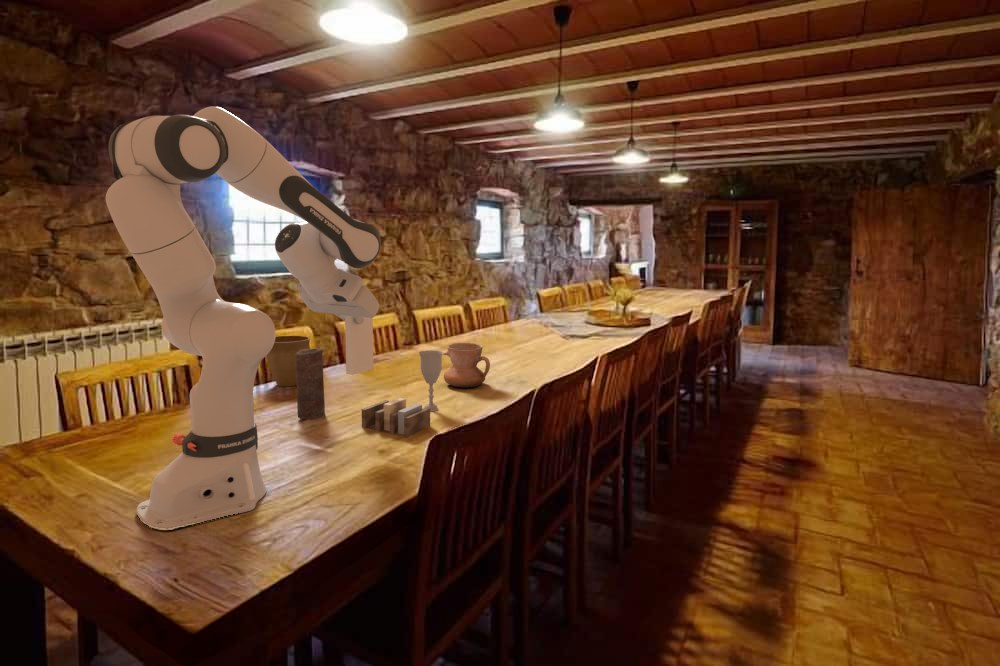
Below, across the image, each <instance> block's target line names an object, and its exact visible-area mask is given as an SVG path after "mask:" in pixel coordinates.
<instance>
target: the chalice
mask: <svg viewBox="0 0 1000 666" xmlns="http://www.w3.org/2000/svg"><path fill="white" fill-rule="evenodd" d="M443 352H444V351H441V350H432V349H431V350H421V351H419V352H418V354H419V357H420V371H421V375H422V376H423V377H422V378H423V379H424V381H425V383H426V384H428V386H429V388H428V392H429V394H428V396H427V397H428V398H429V399H428V400H429V401H428V403H427V404H425V406H424V408H423V409H425V408H430V412H437V411H438V410H439V408H438V405H437V404H436V403H434V402H433V399H434V398H435V395H434V394H433V393H434V391H435V390H434V387H433V386H434V384H437V382H438V379H439V377H440V374H441V372H442V370H443V369H442V368H443V366H442V362H443V361H442V359H443V356H444V355H443Z"/></svg>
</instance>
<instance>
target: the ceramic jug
mask: <svg viewBox="0 0 1000 666" xmlns="http://www.w3.org/2000/svg"><path fill="white" fill-rule="evenodd" d="M442 352H443V355H442V356H447V357H448V358H449V359H450V361H451V364H452V366H451V367H450V368H448V369H447V370H445V371H444V372H443V373H444V374H443V380H444V381H445V383H446V384H448V385H449V386H451V387H455V388H461V389H462V388H463V389H465V388H474V387H477V386H478V387H479V386H480V385H482V384H483V383H484V382H485V380H486V377H487V376H488V373H489V371H490V367H491V362H490V359H489V358H488V357H487V356H483V355H482V353H483V345H482V344H479V343H474V342H453V343H449V344H448V345H447V350H445V351H442ZM481 355H482V356H481ZM482 361H484V363H485V369H484V371H482V369H480V368H479V367H478V366H477V365H478V364H479V363H480V362H482Z"/></svg>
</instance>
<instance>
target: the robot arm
mask: <svg viewBox="0 0 1000 666" xmlns="http://www.w3.org/2000/svg"><path fill="white" fill-rule="evenodd" d="M108 155H109V159H110V162H111V164H112V174H113V177H114V179H116V181H115V182H113V183H112V184H111V185H110V186H109V188H108V189H107V191H106V194H105V203H106V206H107V209H108V212H109V215H110V216H111V219H112V221H113V224H114V226H115V228H116V230H117V231H118V234H119V236H120V238H121V239H122V241H123V243H124V245H125V246H126V248H127V250H128V251H129V253H130V255H131V256H132V257H133V259H134V261H135V262H136V263H137V265H138V267H139V268H140V270H141V272H142V273H143V275H144V276H145V278H146V279H147V281H148V283H149V284H150V286H151V288H152V290H153V292H154V294H155V295H156V298H157V301H158V303H159V306H160V310H161V312H162V316H163V317H162V320H161V330H162V333H163V337H165V339H166V341H168V342H169V343H170V344H171V345H173V346H174V347H175V348H177V349H179V350H181V351H183V352H185V353H188V354H191V355H195V356H200V357H202V367H201V373H200V376H199V380H198V381H197V382H196V383H195V384H194V385H193V386H192V387H191V389H190V392H189V406H190V420H191V429H190V431H189V432H188V434H187V435H183V434H182V433H180V432H177V433H174V434H173V436H172V437H171V441H172V443H174V444H176V445H177V446H181V450H182V452H181V453H180V454H179V455H178V456H176V458H174V459H173V460H172V461H171V462H170V463H169V464H168V465H166V466H165V467H164V468H163V469H162V470H160V472H158V473H157V474H156V475H155V476H154V478H153V480H152V482H151V486H150V493H149V499H146V500H144V501H142V502H140V503H139V504H138V505H137V507H136V516H137V515H138V516H139V518H140V519H141V520H142V521H144V522H145V523H146V524H148V525H151V526H153V527H158V528H166V529H168V528H173V527H177V526H182V525H186V524H192V523H197V522H202V521H206V520H211V519H215V520H217V519H216V518H219V519H221V518H220V517H223V518H225V517H224V516H227V517H229V516H228V515H231V516H234V515H233V514H235V515H237V514H238V513H239V514H243V513H246V512H250V511H253V510H254V509H255V508H256V506H257V503H258V502H259V500H261V499H262V498H263V497H265V495H266V493H267V487H266V485H265V481H264V479H263V475H262V473H261V468H260V463H259V459H258V452H257V450H258V447H259V446H258V445H259V443H258V442H259V441H258V440H259V438H258V437H259V436H258V435H259V434H258V428H257V427H258V426H257V425H258V424H256V423H255V412H254V411H255V410H254V405H255V404H254V389H255V388H254V387H255V386H254V385H255V380H256V376H257V373H258V370H259V366H260V365H261V361H262V360H263V359H264V358H265V357H267V354H268V353H269V352H270V351H271V349H272V347H273V345H274V342H275V337H276V335H277V334H276V326H275V324H274V322H273V320H272V318H271V317H270V316H269V315H268V314H267V313H266V312H264V311H262V310H260V309H258V308H255V307H253V306H251V305H248V304H245V303H238V302H237V303H236V302H230V301H225V300H224V299H223V298H222V297H221V296H220V295H219V293H218V291H217V289H216V284H215V279H214V275H215V273H216V269H217V264H216V261H215V259H214V257H213V256H212V254H211V252H210V251H209V248H208V247H207V245H206V243H205V241H204V239H203V238H202V236H201V234H200V232H199V231H198V228H197V227H196V225H195V223H194V221H193V220H192V218H191V217H190V215H189V213H188V212H187V211H186V209H185V207H184V203H183V201H182V196H181V184H187V183H198V182H201V181H204V180H206V179H209V178H210V177H212V176H213V175H214V174H216V175H217V176H218V177H220V178H221V179H222V180H223V181H225V182H226V183H227V184H228V185H230V186H232V187H233V188H234V189H236V190H237V191H238V192H241V193H243V194H244V195H245V196H248V197H250V198H252V199H254V200H256V201H259V202H260V203H263V204H266V205H268V206H271V207H274V208H277V209H280V210H282V211H285V212H287V213H289V214H292V215H294V216H296V217H298V218H300V219H302V220H304V221H302V222H293V223H290V224H287V225H286V226H284V227H283V228H282V229H281V230H280V231H279V232H278V234H277V236H276V238H275V240H274V241H275V242H274V248H275V251H276V254H277V256H278V257H279V259H280V261H281V263H283V266H284V267H285V268H286V269H287V271H288V272H289V273H290V274H291V275H292V277H294V278H296V279H297V280H298V281H299V282H298V283H297V284H296V286H295V287H296V290H298V291H299V296H300V298H301V300H302V301H303V302H304V304H305V306H306V307H307V308H308V309H309V310H310V311H311V312H313V313H319V314H320V313H323V314H330V315H331V314H332V315H334V316H336V317H337V318H340V319H341V320H342V321H343V322H344V323H345V315H348V316H353V317H355V318H354V320H353V321H354V322H355V323H356V324H360V325H361V324H362V323H363V321H364V318H363V317H367V318H375V316H376V315H377V313H378V312H379V309H380V303H379V301H378V300H377V297H375V295H374V294H373V292H372V291H371V290H370V288H368V287H367V286H366V285H364V280H363V278H362V277H361V276H360V275H356V274H354V273H351V272H348V271H345V270H343V269H342V268H339V267H338V266H337V265H336V263H335V262H336V261H337V260H339V261H341V262H343V263H344V264H346V265H348V266H350V268H353V269H357V270H359V269H365V268H366V267H368V266H369V265H371V264H373V262H374V261H375V260H376V259H377V258H378V256H379V254H380V252H381V245H382V241H381V240H382V239H381V235H380V232H379V230H378V228H377V227H376V226H375V225H373V224H370V223H367V222H364V221H360V220H358V219H355V218H353V217H351V216H350V215H348V214H347V213H346V212H345V211H344V210H342V209H341V208H340V207H339V206H337V205H336V203H334V202H332V200H330V199H329V198H327V197H326V196H325V195H324V194H322V193H321V192H320V190H318V189H317V188H315V187H314V186H313V185H312V184H311V183H310V182H309V181H308V180H307V179H306V178H305V177H304V176H303V174H301V173H300V172H299V171H298V170H297V169H296V168H295V167H294V166H293V165H292V163H290V162H289V161H288V160H287V159H286V158H285V157H284V156H283V154H281V152H279V150H277V149H276V148H275V147H274V146H273V145H272V144H271V143H270V142H269V140H267V139H266V138H265V137H264V136H262V134H260V133H259V132H258V131H256V130H255V129H254V128H252V127H251V126H250V125H249V124H247V123H246V122H245V121H243V120H242V119H240V118H239V117H237V116H235V115H234V114H232V113H231V112H229V111H227V110H226V109H224V108H222V107H220V106H207V107H204V108H202V109H200V110H198V111H197V112H196V113H194V115H189V114H174V115H151V116H150V115H149V116H146V117H142V118H138V119H133V120H129V121H126V122H124V123H122V124H121V125H119V126H118V127H117V128H115V129H114V130H113V132H112V133H111V135H110V137H109V140H108ZM139 518H138V519H139ZM211 521H212V520H211ZM159 523H161V524H159Z"/></svg>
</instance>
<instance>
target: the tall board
mask: <svg viewBox="0 0 1000 666" xmlns="http://www.w3.org/2000/svg"><path fill="white" fill-rule="evenodd" d="M354 318H355V317H353V316H348V315H345V322H344V329H345V331H344V334H345V336H344V338H345V367H346V369H345V370H346V372H345V373H346V374H345V375H352V376H354V375H357V374H360V373H364V372H366V371H370V370H372V369H374V331H373V330H374V323H373V322H374V321H373V318H374V317H373V318H367V317H363V318H364V321H363V323H362V324H361V325H360V324H356V323H355V322H354V321H353V320H354Z"/></svg>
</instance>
